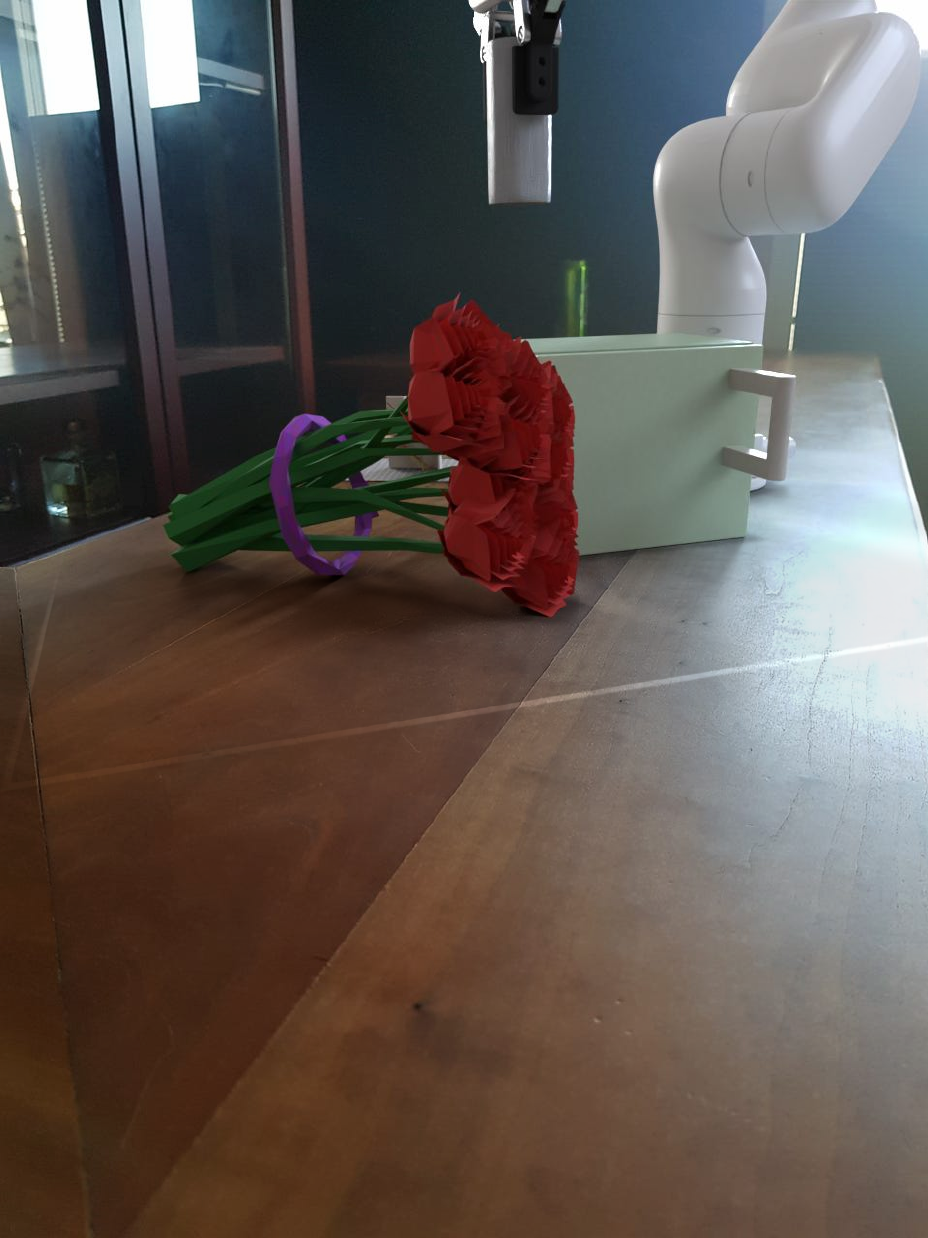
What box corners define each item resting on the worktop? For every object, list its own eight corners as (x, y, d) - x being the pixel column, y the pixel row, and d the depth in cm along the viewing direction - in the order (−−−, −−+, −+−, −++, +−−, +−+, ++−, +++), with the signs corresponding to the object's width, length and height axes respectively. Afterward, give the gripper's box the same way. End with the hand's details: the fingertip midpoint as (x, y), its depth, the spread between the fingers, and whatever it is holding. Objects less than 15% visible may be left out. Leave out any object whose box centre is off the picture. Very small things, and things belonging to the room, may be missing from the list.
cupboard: (736, 534, 74) (754, 341, 69) (529, 558, 69) (530, 352, 64) (666, 503, 84) (677, 332, 79) (479, 522, 79) (478, 340, 74)
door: (796, 558, 68) (819, 351, 63) (571, 586, 63) (577, 364, 58) (738, 533, 74) (755, 344, 69) (530, 557, 69) (532, 354, 64)
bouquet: (260, 608, 78) (614, 564, 67) (131, 687, 64) (554, 650, 52) (190, 368, 73) (561, 275, 61) (31, 395, 58) (478, 280, 47)
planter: (509, 202, 66) (508, 32, 62) (477, 205, 70) (474, 45, 66) (563, 202, 68) (564, 37, 64) (528, 205, 72) (528, 49, 68)
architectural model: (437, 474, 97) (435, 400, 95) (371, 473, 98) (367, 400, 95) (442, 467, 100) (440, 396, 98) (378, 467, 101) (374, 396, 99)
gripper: (636, -257, 54) (625, 103, 61) (519, -146, 69) (521, 134, 76) (515, -276, 52) (518, 100, 58) (421, -157, 67) (432, 133, 73)
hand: (519, 116), depth 67 cm, fingers closed on planter, 4 cm apart
